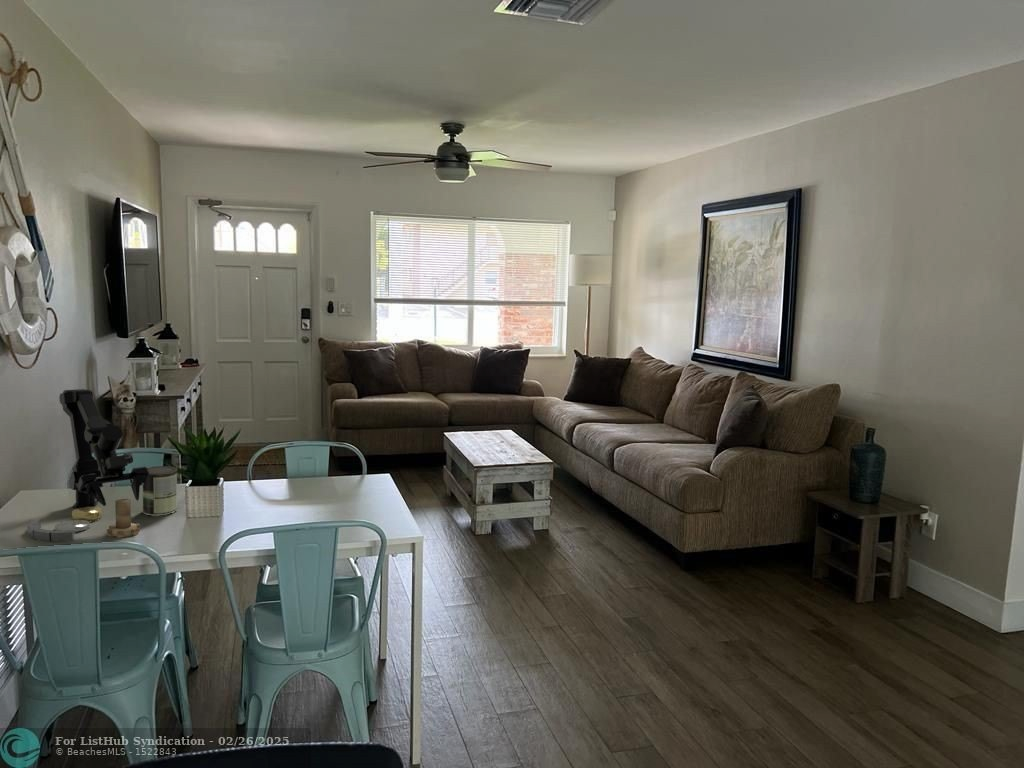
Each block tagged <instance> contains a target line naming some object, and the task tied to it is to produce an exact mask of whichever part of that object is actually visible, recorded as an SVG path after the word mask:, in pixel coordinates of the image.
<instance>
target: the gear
mask: <svg viewBox="0 0 1024 768" xmlns="http://www.w3.org/2000/svg"><path fill="white" fill-rule="evenodd" d="M114 503H115V524H114V523H113V524H111V525H109V526H108V528H106V536H107V535H108V536H107V537H113V536H116V537H115V538H118V539H122V538H121V537H123V538H125V537H124V536H126V537H131V536H137V535H138V534H139V531H138V530H140V531H141V524H140V523H132V517H131V516H132V512H131V511H132V510H131V508H132V505H131V503H132V500H131V499H130V498H121V499H116V500H115V502H114ZM130 535H131V536H130Z"/></svg>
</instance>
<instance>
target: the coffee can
mask: <svg viewBox="0 0 1024 768" xmlns="http://www.w3.org/2000/svg"><path fill="white" fill-rule="evenodd" d="M147 468H148V471H149V474H148V476H147V478H146V481H145V482H143V483H142V514H143V513H144V514H146V515H145V516H147V515H153V516H152V517H160V516H159V515H165V516H167V515H166V514H170V513H173V514H175V513H176V512H177V511H178V507H177V506H178V504H177V503H178V502H177V499H178V497H177V496H178V493H177V492H178V491H177V489H178V488H177V487H178V485H177V483H178V481H177V480H178V479H177V478H178V476H177V475H178V473H177V472H178V468H177V467H174V466H169V465H158V466H151V467H147ZM175 511H176V512H175ZM174 512H175V513H174ZM144 514H143V515H144ZM170 515H171V514H170Z"/></svg>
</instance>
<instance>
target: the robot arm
mask: <svg viewBox="0 0 1024 768" xmlns="http://www.w3.org/2000/svg"><path fill="white" fill-rule="evenodd" d="M93 397H94V396H93V391H92V390H91V389H85V388H80V389H77V388H76V389H64V390H63V391H62V393H59V398H58V399H59V404H60V405H61V406H62V411H64V413H65V414H66V415H67V416H68V417H69V420H70V426H71V433H72V439H73V445H74V452H75V459H76V460H75V462H74V464H73V466H72V468H71V474H70V476H69V479H68V486H69V487H68V488H69V489H71V490H72V491H75V503H73V505H72V508H75V509H79V508H84V507H96V506H97V505H98V504H99V503H100V505H102V506H103V507H105V506H106V504H107V503H106V498H105V496H104V494H103V492H102V489H101V487H102V485H103V484H104V483H105V484H106V483H113V482H122V481H130V483H131V484H130V487H131V490H132V493H133V496H134V498H135V500H136V501H137V502H138V501H139V499H140V489H141V488H140V486H141V485H143V482H145V481H146V478H147V476H148V474H149V471H148V468H149V467H147V466H139V467H133V468H132V470H131V472H126V473H124V472H125V471H126V467H128V465H129V464H130V465H131V464H132V463H133V462H134V458H133V453H132V452H125V453H123V454H122V455H121V454H120V455H118V454H117V451H116V450H117V449H118V448H119V447H120V443H121V441H122V438H123V437H124V431H123V430H122V428H120V427H118V426H116V425H114V423H113V422H109V421H108V420H107V419H105V418H103V417H102V416H101V413H100V411H99V409H98V407H97V404H96V402H95V400H94V398H93ZM91 445H95V446H94V447H93V449H92V448H91V447H92V446H91ZM92 450H93V453H92Z"/></svg>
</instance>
